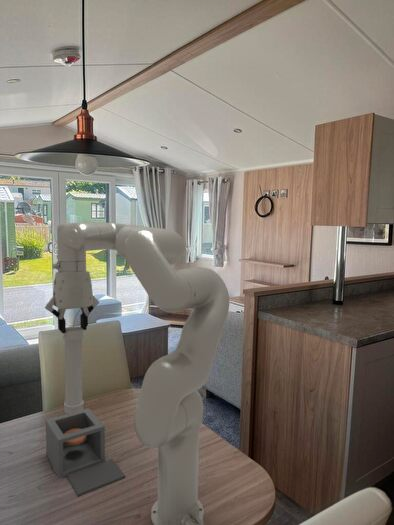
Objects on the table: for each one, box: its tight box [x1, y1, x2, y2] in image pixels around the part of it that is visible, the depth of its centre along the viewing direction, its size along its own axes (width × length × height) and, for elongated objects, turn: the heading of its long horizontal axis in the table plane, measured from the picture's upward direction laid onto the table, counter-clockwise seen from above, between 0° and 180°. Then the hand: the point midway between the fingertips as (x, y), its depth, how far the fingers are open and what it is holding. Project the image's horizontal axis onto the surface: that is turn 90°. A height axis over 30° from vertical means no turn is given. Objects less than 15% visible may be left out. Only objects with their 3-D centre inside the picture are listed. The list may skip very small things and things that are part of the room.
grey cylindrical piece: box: [62, 308, 85, 415], centre depth 110 cm, size 6×6×30 cm
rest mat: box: [66, 458, 126, 497], centre depth 105 cm, size 9×13×1 cm
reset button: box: [64, 428, 86, 446], centre depth 112 cm, size 6×6×3 cm
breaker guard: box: [45, 407, 106, 480], centre depth 112 cm, size 13×13×11 cm
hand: (73, 329), depth 109 cm, fingers closed on grey cylindrical piece, 5 cm apart
